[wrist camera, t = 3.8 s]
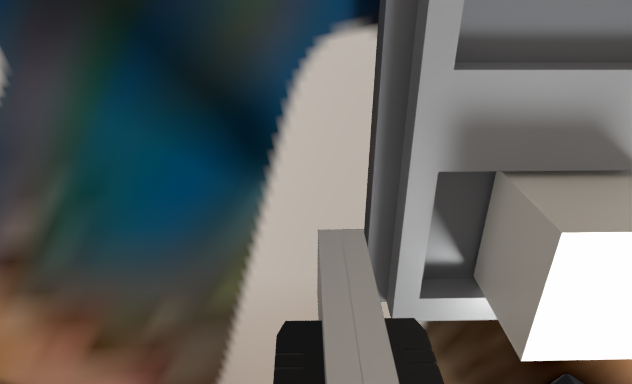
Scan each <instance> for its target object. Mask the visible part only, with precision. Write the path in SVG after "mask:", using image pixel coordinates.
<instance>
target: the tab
mask: <svg viewBox="0 0 632 384" xmlns="http://www.w3.org/2000/svg"><path fill="white" fill-rule="evenodd" d="M474 278H475V280H476V282H477V283H478V285H479V287H480V289H481V291H482V292H483V294H484V296H485V298H486V299H487V301H488V303H489V305H490V307H491V308H492V310H493V312H494V314H495V316H496V317H497V319H498V321H499V323H500V325H501V326H502V328H503V330H504V332H505V333H506V335H507V337H508V339H509V341H510V342H511V344H512V346H513V348H514V350H515V351H516V353H517V355H518V357H519V359H520V360H521V361H553V360H604V359H632V170H603V171H496V175H495V180H494V185H493V189H492V194H491V198H490V203H489V207H488V212H487V216H486V221H485V226H484V230H483V235H482V239H481V244H480V248H479V253H478V258H477V262H476V267H475V271H474Z"/></svg>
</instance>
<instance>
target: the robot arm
mask: <svg viewBox="0 0 632 384" xmlns="http://www.w3.org/2000/svg"><path fill="white" fill-rule="evenodd" d="M318 316H319V321H285V323H284V324H283V326H282V328H281V329H280V331H279V333H278V334H277V339H276V355H275V370H274V382H273V384H444V382H443V379H442V376H441V373H440V370H439V367H438V366H437V361H436V358H435V355H434V353H433V352H432V347H431V344H430V341H429V338H428V335H427V332H426V331H425V330H424V329H423V327H422V326H421V325H420V324H419V323H418V322H417V321H416V319H415V318H384V316H383V312H382V307H381V303H380V299H379V294H378V290H377V286H376V281H375V277H374V273H373V269H372V264H371V260H370V256H369V251H368V247H367V243H366V238H365V234H364V230H363V229H346V230H345V229H343V230H318Z"/></svg>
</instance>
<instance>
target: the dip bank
mask: <svg viewBox="0 0 632 384" xmlns="http://www.w3.org/2000/svg"><path fill="white" fill-rule="evenodd" d="M370 139H371V140H370V154H369V168H368V183H367V198H366V213H365V228H364V234H365V238H366V243H367V247H368V251H369V256H370V260H371V264H372V269H373V273H374V277H375V281H376V286H377V290H378V294H379V299H380V302H387V304H388V309H389V313H390V316H391V318H415V319H416V321H457V320H498V319H497V317H496V316H495V314H494V312H493V310H492V308H491V307H490V305H489V303H488V301H487V299H486V298H485V296H484V294H483V292H482V291H481V289H480V287H479V285H478V283H477V282H476V280H475V278H474V271H475V267H476V262H477V258H478V253H479V248H480V244H481V239H482V235H483V230H484V226H485V221H486V216H487V212H488V207H489V203H490V198H491V194H492V189H493V185H494V180H495V175H496V171H603V170H632V0H380V5H379V20H378V35H377V50H376V66H375V79H374V94H373V109H372V124H371V138H370Z"/></svg>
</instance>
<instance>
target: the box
mask: <svg viewBox="0 0 632 384" xmlns="http://www.w3.org/2000/svg"><path fill="white" fill-rule="evenodd" d="M551 384H584V383H583V382H581V381H579V380H578V379H576V378H574V377H573V376H571V375H569V374H564V375H562V376H560V377H559V378H558V379H556V380H554V381H553V382H552V383H551Z"/></svg>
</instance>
